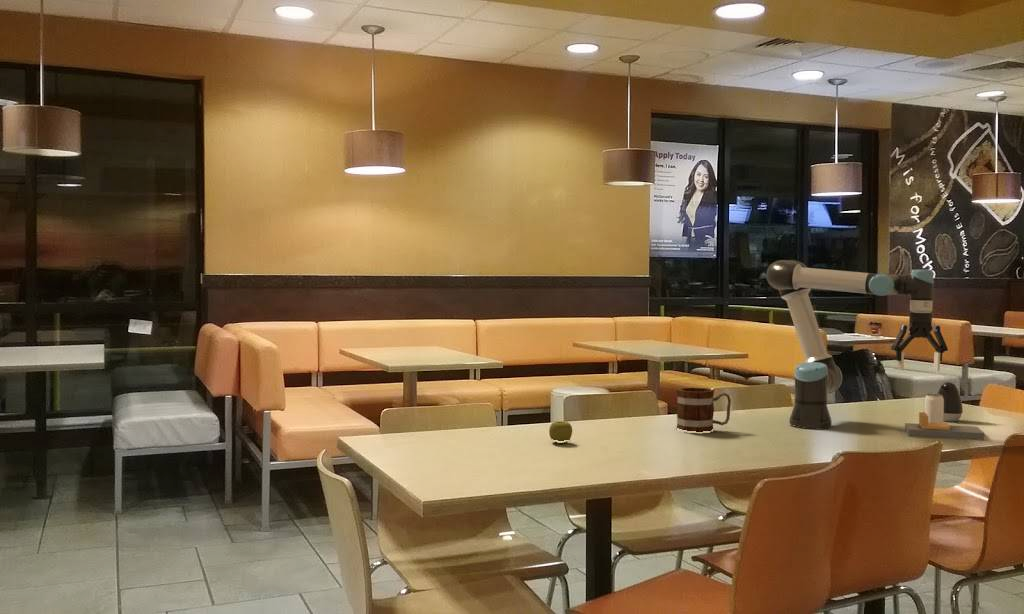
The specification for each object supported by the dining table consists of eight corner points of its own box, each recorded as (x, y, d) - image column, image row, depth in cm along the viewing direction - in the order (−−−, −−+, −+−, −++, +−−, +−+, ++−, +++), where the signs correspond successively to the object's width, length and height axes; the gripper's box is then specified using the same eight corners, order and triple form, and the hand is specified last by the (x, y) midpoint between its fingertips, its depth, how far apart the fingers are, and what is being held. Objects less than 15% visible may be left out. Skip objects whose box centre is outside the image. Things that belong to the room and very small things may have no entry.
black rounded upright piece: (928, 420, 357) (929, 381, 356) (941, 417, 363) (942, 379, 363) (954, 423, 349) (955, 384, 348) (967, 421, 355) (968, 382, 355)
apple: (563, 446, 302) (563, 424, 302) (544, 443, 307) (544, 422, 307) (576, 443, 308) (577, 422, 308) (558, 440, 313) (558, 419, 313)
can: (939, 425, 345) (940, 393, 344) (946, 428, 339) (946, 396, 338) (921, 425, 346) (922, 393, 345) (927, 428, 339) (928, 395, 339)
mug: (679, 434, 326) (679, 392, 325) (673, 427, 339) (673, 387, 339) (734, 434, 325) (735, 392, 325) (726, 428, 339) (727, 387, 338)
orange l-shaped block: (921, 428, 323) (922, 415, 322) (919, 424, 331) (919, 412, 331) (949, 430, 320) (950, 417, 320) (946, 425, 328) (946, 413, 328)
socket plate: (908, 436, 322) (908, 429, 322) (904, 429, 335) (904, 423, 335) (984, 440, 314) (984, 433, 314) (977, 433, 328) (977, 426, 327)
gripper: (892, 312, 326) (890, 371, 328) (959, 313, 328) (957, 371, 329) (882, 311, 334) (880, 368, 335) (948, 311, 336) (945, 369, 337)
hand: (918, 370), depth 332 cm, fingers open, 13 cm apart
